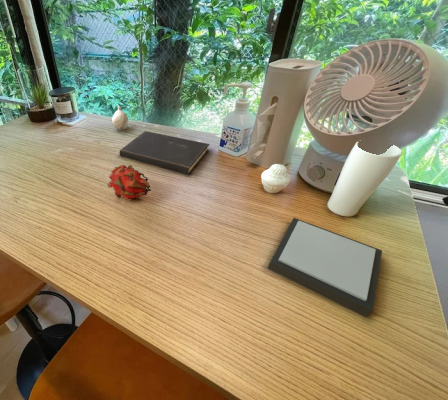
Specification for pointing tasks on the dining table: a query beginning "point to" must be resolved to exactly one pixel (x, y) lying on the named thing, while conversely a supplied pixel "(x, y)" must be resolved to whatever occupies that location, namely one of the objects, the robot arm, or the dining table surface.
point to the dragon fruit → (128, 183)
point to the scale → (329, 265)
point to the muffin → (275, 178)
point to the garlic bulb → (120, 119)
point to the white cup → (361, 179)
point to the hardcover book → (165, 151)
